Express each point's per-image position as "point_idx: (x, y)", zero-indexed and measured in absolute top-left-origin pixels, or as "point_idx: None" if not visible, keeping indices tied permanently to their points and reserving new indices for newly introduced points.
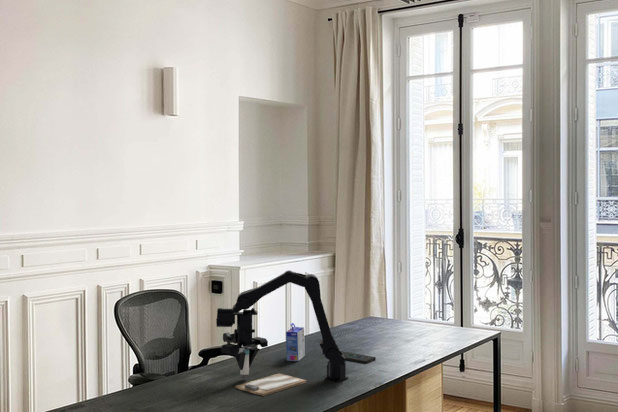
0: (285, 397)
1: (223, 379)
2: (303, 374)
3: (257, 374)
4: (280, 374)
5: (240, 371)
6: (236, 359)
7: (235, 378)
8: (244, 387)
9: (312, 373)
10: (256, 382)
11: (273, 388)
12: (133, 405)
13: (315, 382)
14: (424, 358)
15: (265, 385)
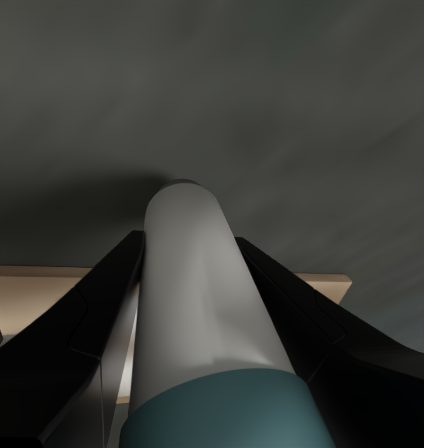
0: None
1: (64, 2)
2: (380, 322)
3: (336, 177)
4: (333, 297)
5: (151, 210)
6: (51, 310)
7: (173, 101)
8: (14, 327)
9: (397, 331)
10: (136, 317)
11: (119, 395)
12: None
13: None
14: None
15: (126, 364)
